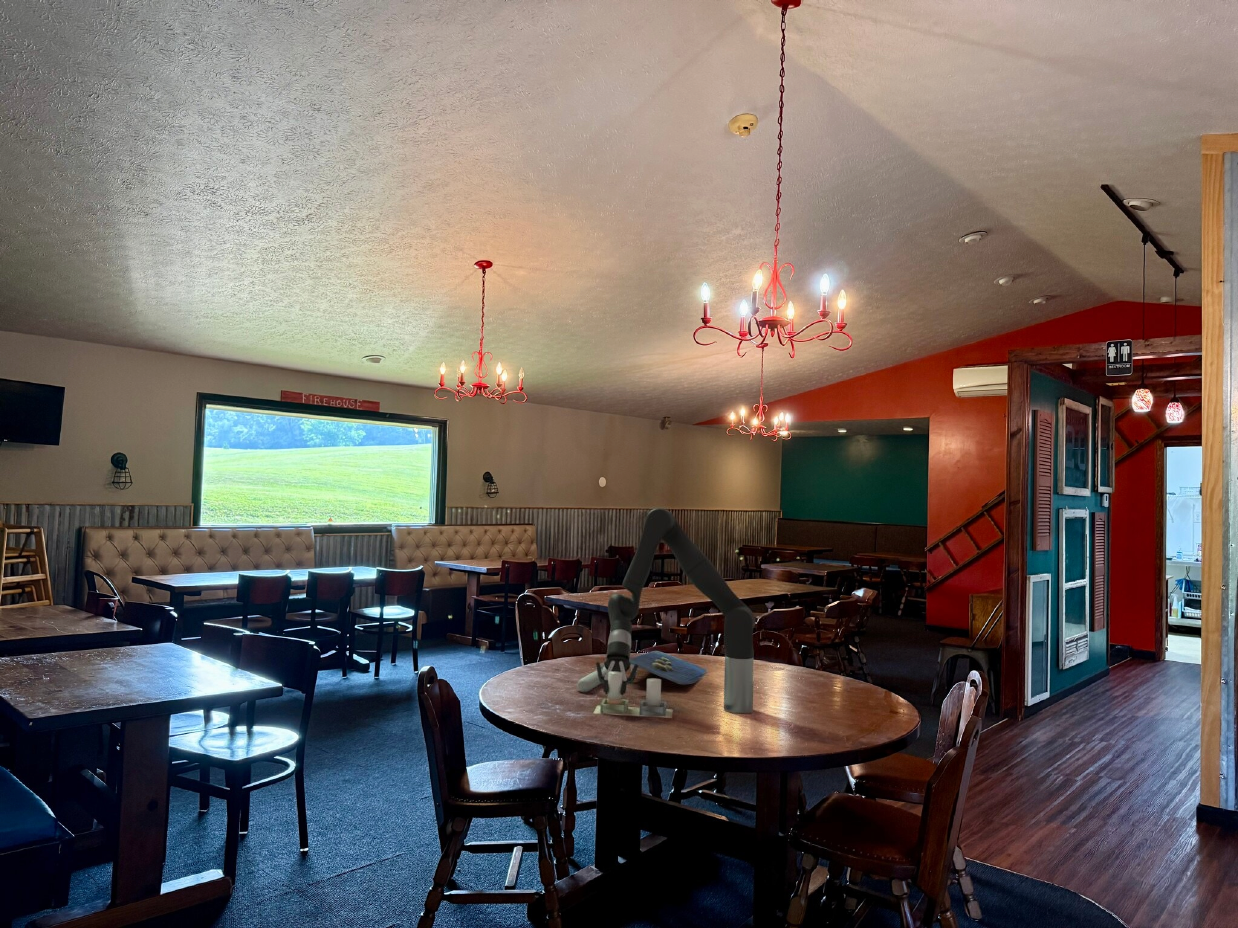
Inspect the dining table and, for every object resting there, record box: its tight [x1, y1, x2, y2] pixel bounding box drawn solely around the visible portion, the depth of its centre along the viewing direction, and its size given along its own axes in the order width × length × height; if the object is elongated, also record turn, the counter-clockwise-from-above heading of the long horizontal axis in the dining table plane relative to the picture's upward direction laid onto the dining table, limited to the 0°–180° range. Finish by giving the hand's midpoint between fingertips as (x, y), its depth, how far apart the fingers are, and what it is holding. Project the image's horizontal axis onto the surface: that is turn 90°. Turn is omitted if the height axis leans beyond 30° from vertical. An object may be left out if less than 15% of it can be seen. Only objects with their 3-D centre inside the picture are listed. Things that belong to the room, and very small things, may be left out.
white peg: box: [606, 671, 623, 705], centre depth 252 cm, size 5×5×10 cm
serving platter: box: [630, 650, 707, 685], centre depth 311 cm, size 45×27×12 cm, turn 162°
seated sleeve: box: [645, 677, 662, 707], centre depth 251 cm, size 5×5×10 cm
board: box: [593, 698, 674, 719], centre depth 251 cm, size 24×10×4 cm, turn 85°
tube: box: [576, 667, 607, 693], centre depth 292 cm, size 5×5×25 cm
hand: (614, 693), depth 250 cm, fingers closed on white peg, 4 cm apart
